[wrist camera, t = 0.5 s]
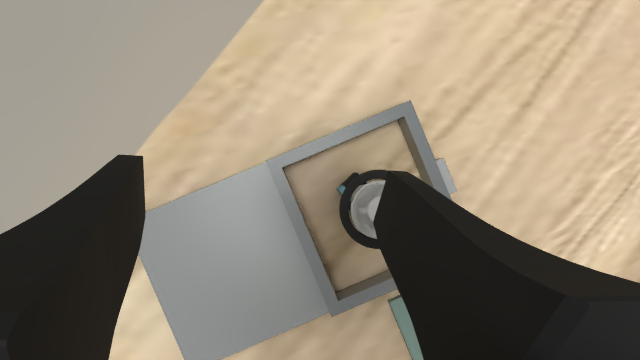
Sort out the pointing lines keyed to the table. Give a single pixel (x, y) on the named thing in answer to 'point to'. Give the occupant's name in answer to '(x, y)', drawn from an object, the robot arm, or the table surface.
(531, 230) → the table surface
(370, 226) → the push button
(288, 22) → the table surface
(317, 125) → the table surface
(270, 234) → the equipment case
